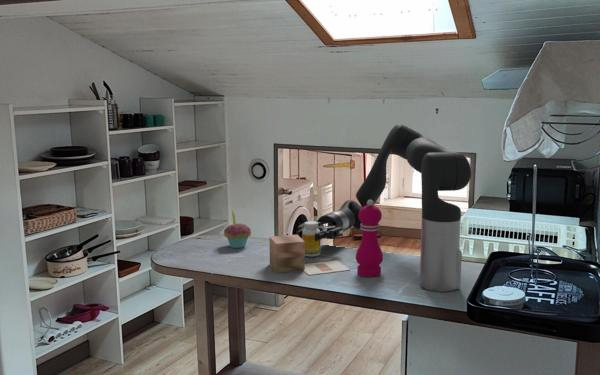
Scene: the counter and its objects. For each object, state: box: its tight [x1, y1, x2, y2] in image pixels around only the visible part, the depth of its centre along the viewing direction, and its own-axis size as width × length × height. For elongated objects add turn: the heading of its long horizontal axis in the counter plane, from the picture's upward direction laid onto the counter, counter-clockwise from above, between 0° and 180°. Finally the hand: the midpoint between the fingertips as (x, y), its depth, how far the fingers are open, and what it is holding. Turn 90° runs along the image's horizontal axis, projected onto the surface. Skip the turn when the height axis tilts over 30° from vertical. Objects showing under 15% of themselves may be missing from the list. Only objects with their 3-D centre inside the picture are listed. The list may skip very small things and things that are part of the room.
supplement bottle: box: [301, 220, 321, 257], centre depth 164 cm, size 5×5×10 cm
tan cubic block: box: [269, 234, 306, 274], centre depth 154 cm, size 8×8×8 cm
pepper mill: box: [355, 200, 384, 278], centre depth 147 cm, size 7×7×20 cm
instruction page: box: [302, 260, 351, 276], centre depth 153 cm, size 12×9×1 cm
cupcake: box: [223, 209, 252, 249], centre depth 175 cm, size 9×8×12 cm
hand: (307, 236), depth 162 cm, fingers closed on supplement bottle, 5 cm apart
